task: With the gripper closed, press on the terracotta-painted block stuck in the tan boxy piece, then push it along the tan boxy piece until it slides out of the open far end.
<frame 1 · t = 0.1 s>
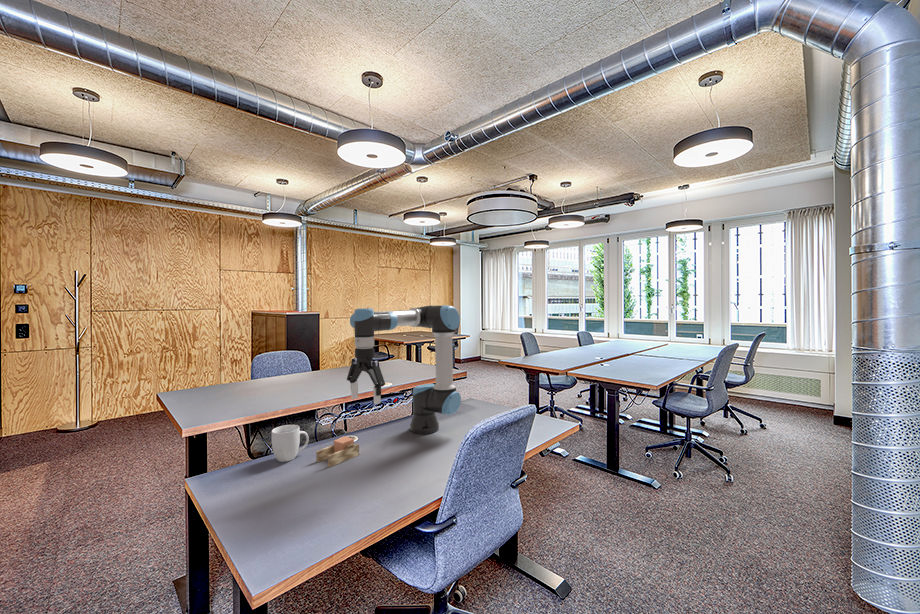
hand: (365, 401, 147), 28 cm above the table, fingers open, 13 cm apart
mug: (289, 458, 162), on the table
tan boxy piece: (338, 458, 161), on the table
block: (343, 447, 163), point 3 cm above the table, slide at 0.0 cm
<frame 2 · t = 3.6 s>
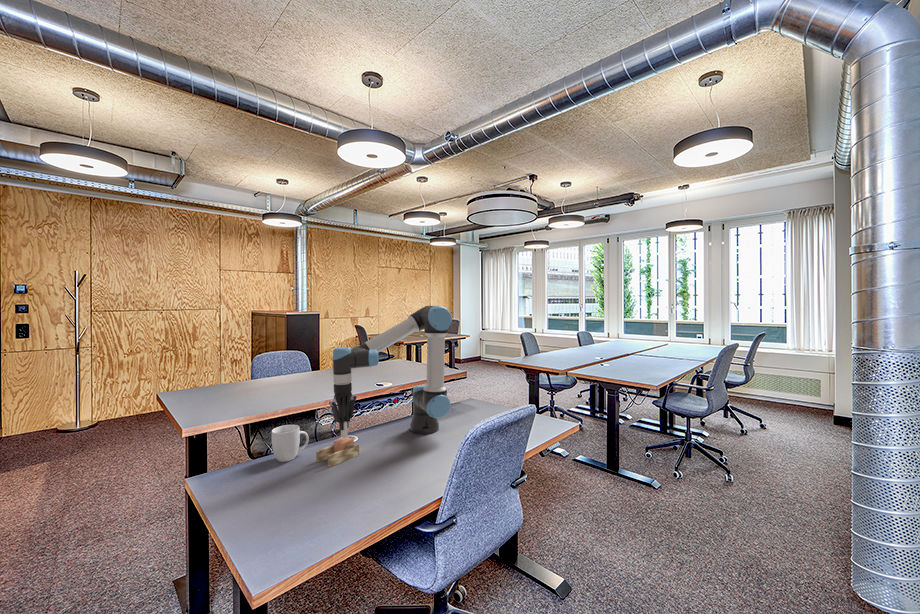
hand: (344, 436, 163), 8 cm above the table, fingers closed
nothing on the table moved.
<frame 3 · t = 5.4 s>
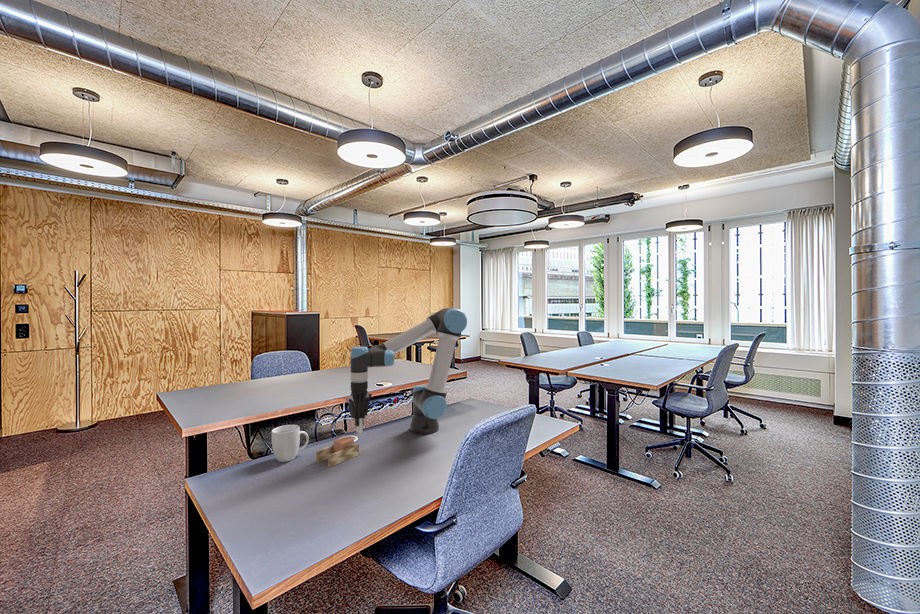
hand: (359, 432, 170), 8 cm above the table, fingers closed
nothing on the table moved.
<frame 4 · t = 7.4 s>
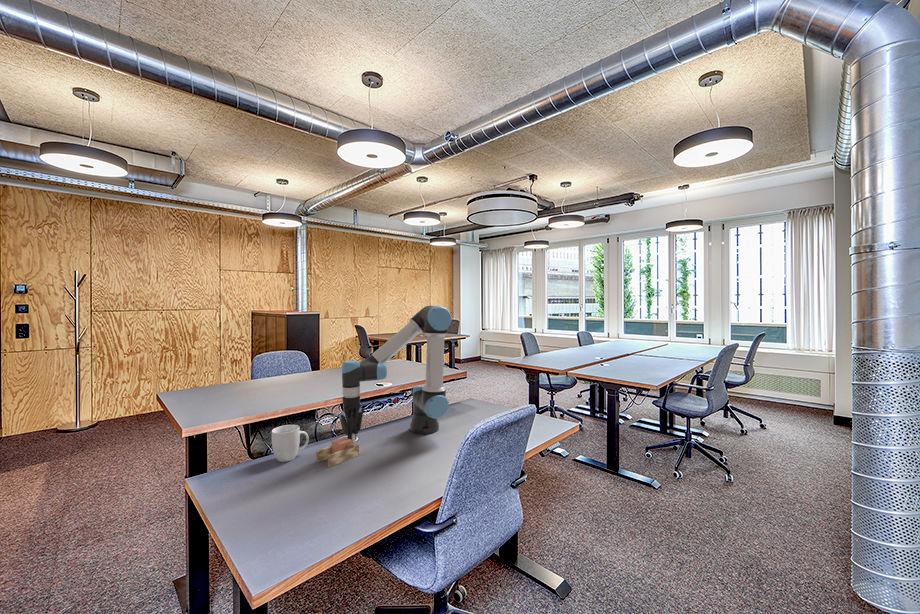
hand: (352, 448, 167), 2 cm above the table, fingers closed
block: (341, 448, 162), point 4 cm above the table, slide at 1.1 cm, touching gripper
everything else where it was.
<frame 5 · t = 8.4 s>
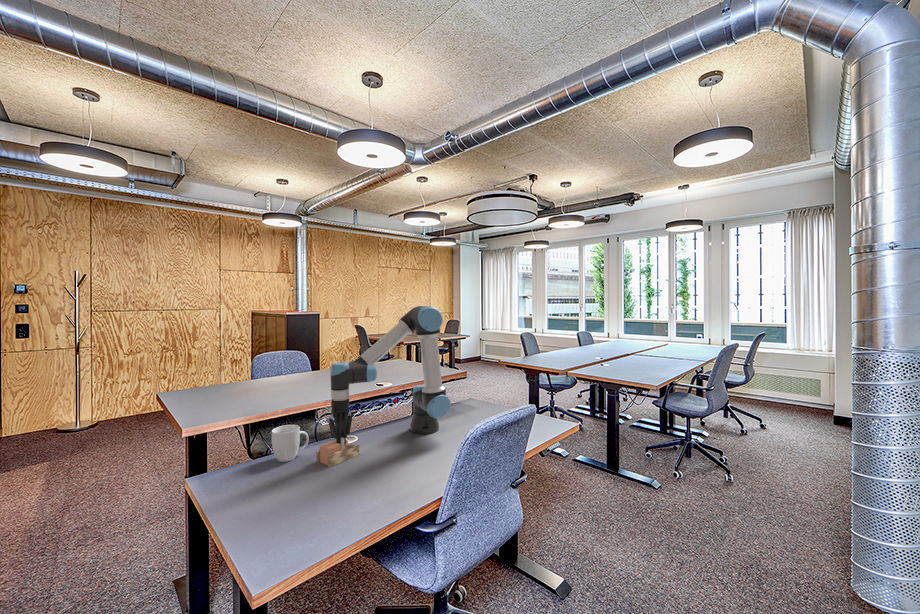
hand: (341, 452, 162), 2 cm above the table, fingers closed
block: (330, 453, 157), point 4 cm above the table, slide at 6.9 cm, touching gripper
everything else where it was.
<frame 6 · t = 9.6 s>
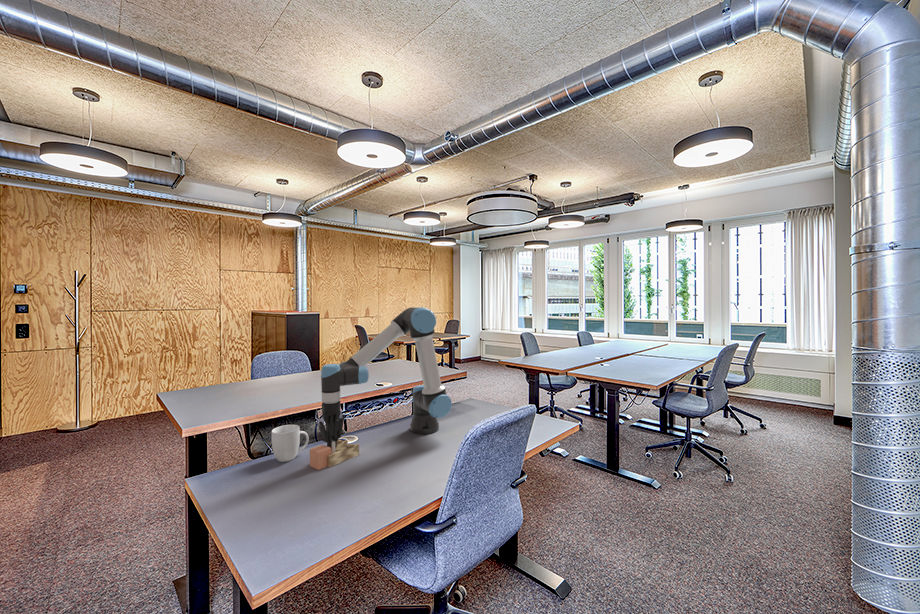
hand: (332, 456, 158), 2 cm above the table, fingers closed
block: (320, 457, 154), point 4 cm above the table, slide at 11.5 cm, touching gripper
everything else where it was.
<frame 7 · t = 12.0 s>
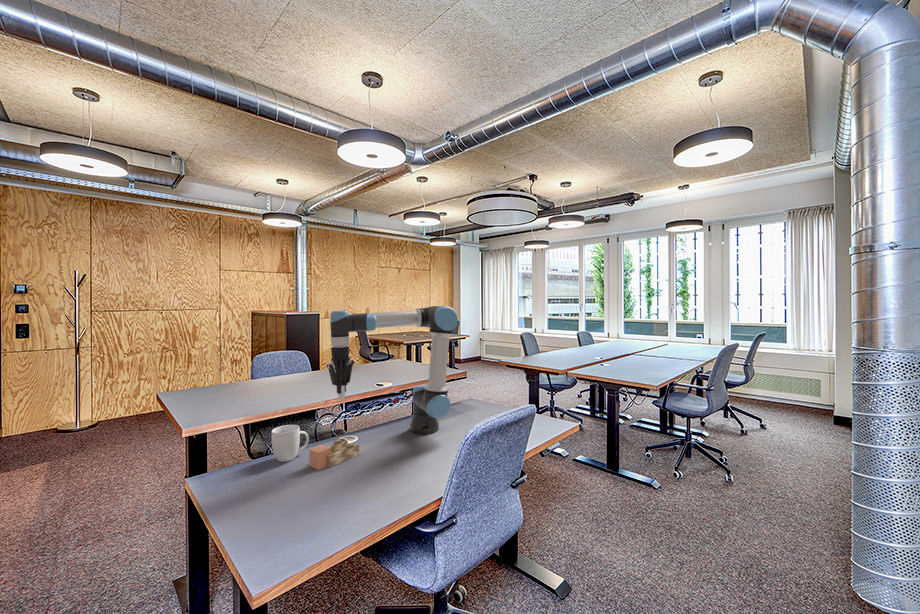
hand: (341, 400, 162), 24 cm above the table, fingers closed
block: (320, 457, 154), point 3 cm above the table, slide at 11.6 cm
everything else where it was.
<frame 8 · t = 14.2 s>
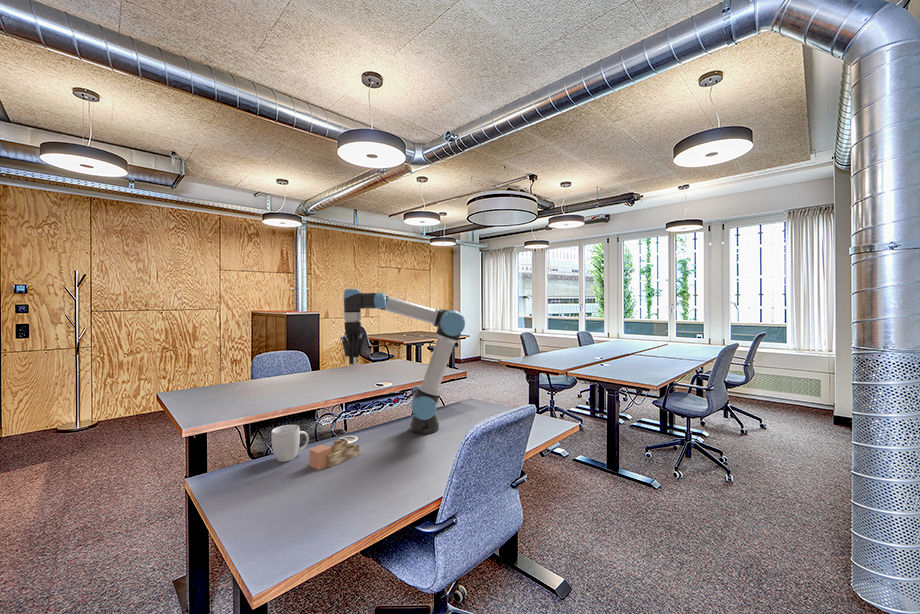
hand: (353, 370, 178), 34 cm above the table, fingers closed
nothing on the table moved.
at the end: block slide at 11.6 cm; block inside the target area (0.4 cm from its centre), on the table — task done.
